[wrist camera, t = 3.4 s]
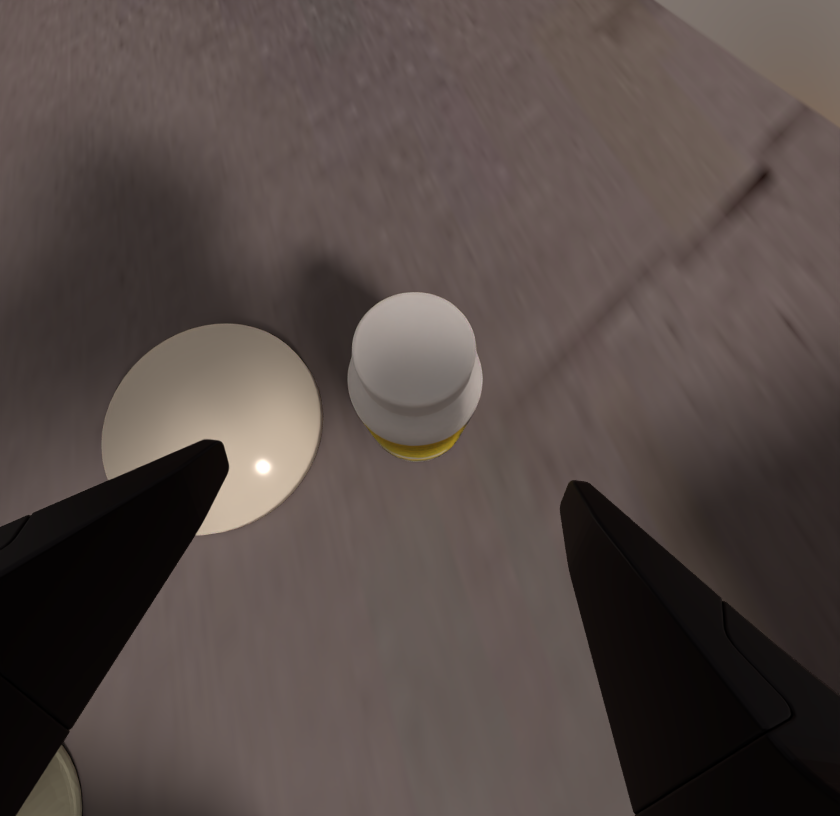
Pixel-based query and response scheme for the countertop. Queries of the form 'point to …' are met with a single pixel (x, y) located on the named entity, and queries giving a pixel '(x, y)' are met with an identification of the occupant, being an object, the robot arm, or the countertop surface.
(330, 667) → the countertop surface
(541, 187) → the countertop surface
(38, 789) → the can
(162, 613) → the countertop surface
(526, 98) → the countertop surface
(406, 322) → the supplement bottle
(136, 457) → the coaster
